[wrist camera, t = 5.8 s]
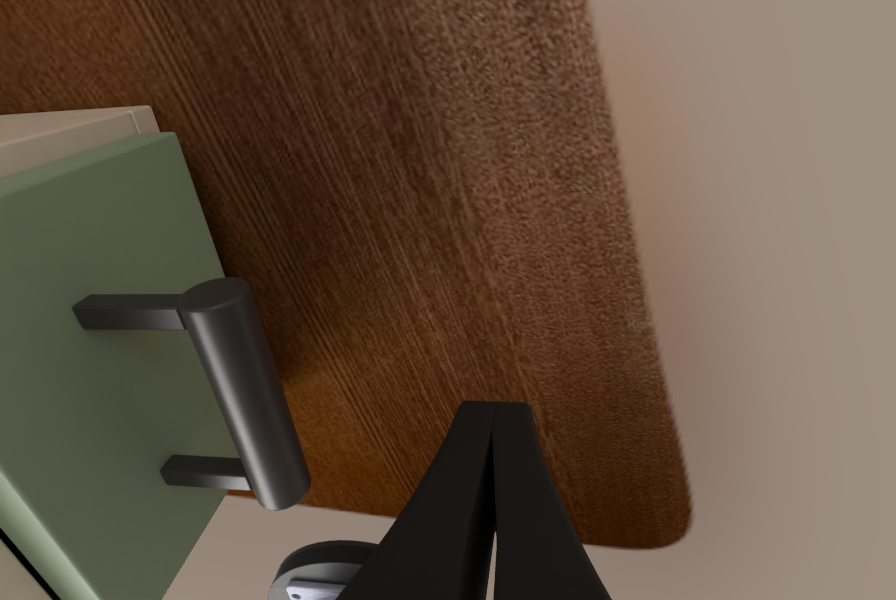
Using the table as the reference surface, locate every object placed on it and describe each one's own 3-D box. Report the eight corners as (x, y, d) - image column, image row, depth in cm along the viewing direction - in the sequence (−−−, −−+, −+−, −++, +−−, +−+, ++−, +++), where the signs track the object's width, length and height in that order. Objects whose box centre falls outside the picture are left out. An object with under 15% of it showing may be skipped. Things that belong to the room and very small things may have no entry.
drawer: (311, 123, 13) (79, 247, 6) (372, 420, 18) (284, 662, 11) (-187, 151, 15) (-740, 262, 9) (-5, 406, 21) (-260, 597, 14)
